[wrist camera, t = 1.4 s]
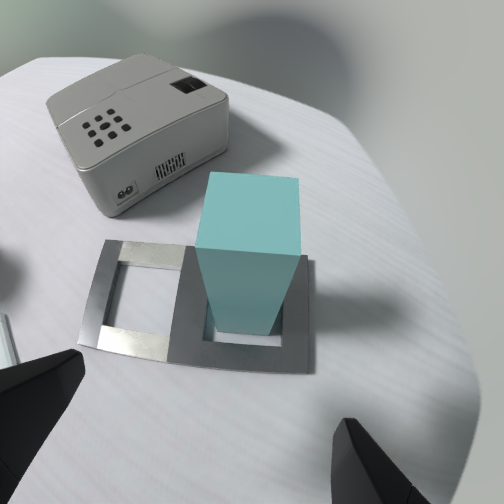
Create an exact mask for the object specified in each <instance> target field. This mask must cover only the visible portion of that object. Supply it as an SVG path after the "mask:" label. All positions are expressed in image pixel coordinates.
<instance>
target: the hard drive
mask: <svg viewBox="0 0 504 504" xmlns="http://www.w3.org/2000/svg"><path fill="white" fill-rule="evenodd" d="M14 365H18V364H17V361H16V358H15V355H14V351H13V347H12V344H11V340H10V336H9V332H8V328H7V324H6V319H5V314H3V313H1V312H0V369H3V368H7V367H11V366H14Z"/></svg>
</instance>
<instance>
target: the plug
mask: <svg viewBox="0 0 504 504" xmlns="http://www.w3.org/2000/svg"><path fill="white" fill-rule="evenodd" d="M195 250H196V254H197V258H198V262H199V266H200V270H201V274H202V277H203V281H204V285H205V289H206V293H207V296H208V300H209V304H210V307H211V311H212V315H213V318H214V322H215V325H216V329H217V332H226V333H238V334H250V335H265V336H269V333H270V331H271V329H272V326H273V324H274V322H275V319H276V317H277V314H278V312H279V310H280V307H281V305H282V302H283V300H284V297H285V295H286V292H287V290H288V287H289V285H290V282H291V280H292V277H293V275H294V272H295V270H296V267H297V265H298V262H299V260H300V257H301V234H300V203H299V181H298V178H289V177H279V176H267V175H255V174H241V173H226V172H210V176H209V180H208V185H207V190H206V194H205V199H204V204H203V209H202V214H201V218H200V224H199V229H198V234H197V239H196V244H195Z"/></svg>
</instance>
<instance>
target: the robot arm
mask: <svg viewBox="0 0 504 504" xmlns="http://www.w3.org/2000/svg"><path fill="white" fill-rule="evenodd" d="M84 375H85V365H84V359H83V355H82V353H81V352H79V351H77V350H75V349H69V350H66V351H62V352H59V353H56V354H52V355H49V356H46V357H42V358H39V359H35V360H32V361H28V362H25V363H21V364H18V365H14V366H11V367H7V368H3V369H0V504H7V503H8V501H9V500H10V498H11V496H12V494H13V493H14V491H15V489H16V487H17V486H18V484H19V482H20V480H21V479H22V477H23V475H24V474H25V472H26V470H27V469H28V467H29V465H30V464H31V462H32V460H33V459H34V457H35V456H36V454H37V452H38V451H39V449H40V448H41V446H42V445H43V443H44V441H45V440H46V438H47V437H48V435H49V434H50V432H51V431H52V429H53V428H54V426H55V425H56V423H57V422H58V420H59V419H60V417H61V416H62V414H63V413H64V411H65V410H66V408H67V407H68V405H69V403H70V402H71V400H72V398H73V396H74V394H75V392H76V390H77V388H78V386H79V385H80V383H81V381H82V379H83V377H84ZM331 492H332V504H431V503H430V502H429V501H428V500H427V499H426V498H425V497H424V496H423V495H422V494H421V493H420V492H419V491H418V490H417V489H416V488H415V487H414V486H412V483H411V482H410V481H409V480H408V479H407V478H406V476H405V475H404V474H403V473H402V472H401V471H400V470H399V468H398V467H397V466H396V465H395V464H394V463H393V462H392V460H391V459H390V458H389V457H388V456H387V455H386V454H385V452H384V451H383V450H382V449H381V448H380V447H379V445H378V444H377V443H376V442H375V441H374V440H373V438H372V437H371V436H370V435H369V434H368V432H367V431H366V430H365V429H364V428H363V427H362V425H361V424H360V423H359V422H358V421H357V420H356V419H355V418H343V419H342V420H341V422H340V424H339V426H338V427H337V429H336V431H335V433H334V436H333V448H332V465H331Z"/></svg>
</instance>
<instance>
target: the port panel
mask: <svg viewBox="0 0 504 504" xmlns="http://www.w3.org/2000/svg"><path fill="white" fill-rule="evenodd" d="M121 264H122V265H132V266H141V267H151V268H161V269H172V270H181V274H180V279H179V285H178V290H177V296H176V302H175V308H174V314H173V320H172V326H171V333H170V336H163V335H156V334H150V333H143V332H137V331H131V330H126V329H120V328H114V327H109V326H106V323H107V319H108V314H109V310H110V305H111V301H112V297H113V293H114V289H115V285H116V281H117V277H118V273H119V270H120V266H121ZM207 308H208V296H207V293H206V289H205V285H204V281H203V277H202V274H201V270H200V266H199V262H198V258H197V254H196V250H195V246H183V245H170V244H157V243H144V242H131V241H118V240H105V243H104V246H103V249H102V252H101V255H100V258H99V261H98V264H97V268H96V271H95V274H94V278H93V281H92V285H91V289H90V292H89V296H88V300H87V304H86V308H85V312H84V316H83V320H82V325H81V329H80V334H79V339H78V344H80V345H82V346H85V347H90V348H94V349H98V350H102V351H107V352H111V353H116V354H121V355H126V356H131V357H136V358H141V359H147V360H152V361H158V362H165V363H171V364H178V365H185V366H193V367H201V368H210V369H219V370H230V371H242V372H256V373H274V374H307V373H308V330H309V305H308V255H301V257H300V260H299V262H298V265H297V267H296V270H295V272H294V275H293V277H292V280H291V282H290V285H289V287H288V290H287V292H286V295H285V297H284V300H283V302H282V331H281V347H277V346H260V345H246V344H233V343H222V342H212V341H204V332H205V324H206V316H207Z"/></svg>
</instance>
